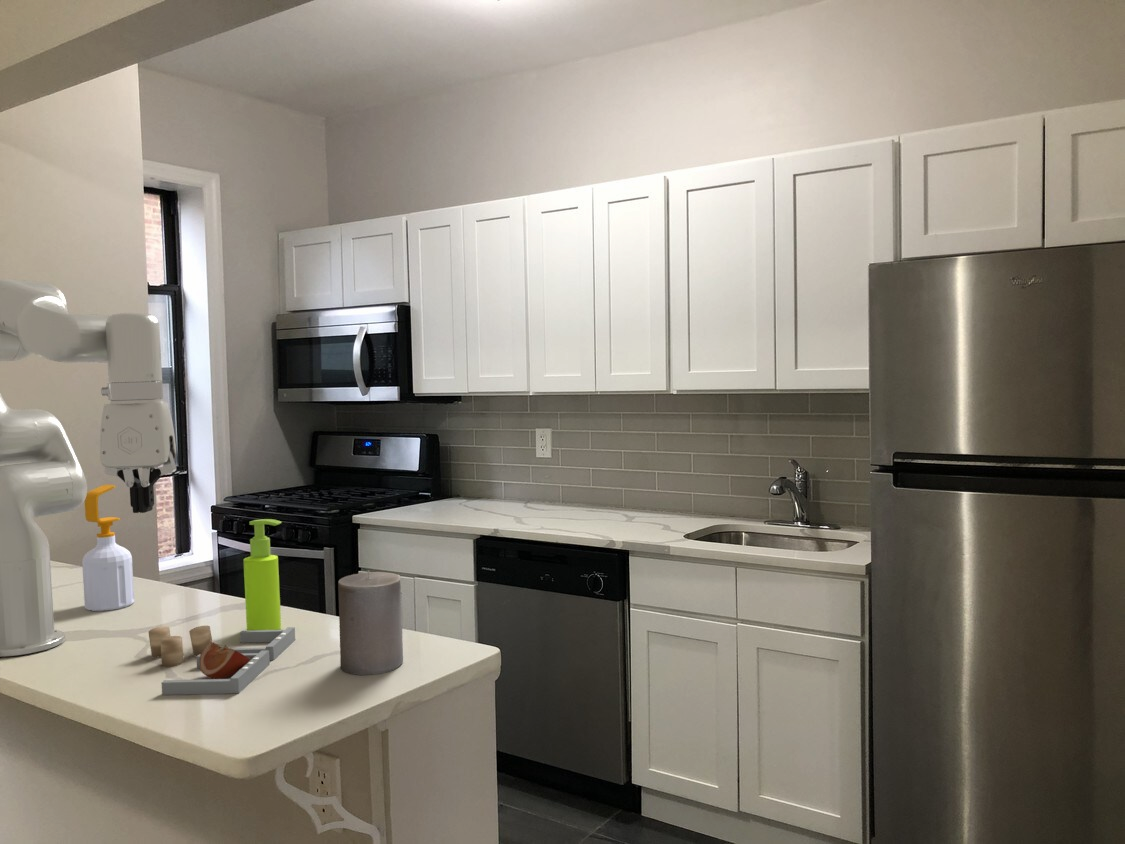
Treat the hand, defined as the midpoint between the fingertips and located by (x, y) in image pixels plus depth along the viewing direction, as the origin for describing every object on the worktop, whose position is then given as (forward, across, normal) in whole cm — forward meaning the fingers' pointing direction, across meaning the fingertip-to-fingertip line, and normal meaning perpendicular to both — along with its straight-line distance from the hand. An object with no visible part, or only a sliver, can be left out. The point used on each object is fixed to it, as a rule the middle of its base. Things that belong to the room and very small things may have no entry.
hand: (142, 511), depth 141 cm
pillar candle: (+25, +35, 0) cm, 43 cm away
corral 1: (+25, +12, -5) cm, 28 cm away
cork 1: (+25, -2, +8) cm, 26 cm away
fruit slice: (+25, +13, -4) cm, 29 cm away
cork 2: (+25, +2, +3) cm, 25 cm away
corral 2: (+25, +14, +9) cm, 30 cm away
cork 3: (+25, +5, +8) cm, 27 cm away
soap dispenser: (+25, +11, +21) cm, 35 cm away
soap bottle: (+25, -28, +41) cm, 56 cm away
